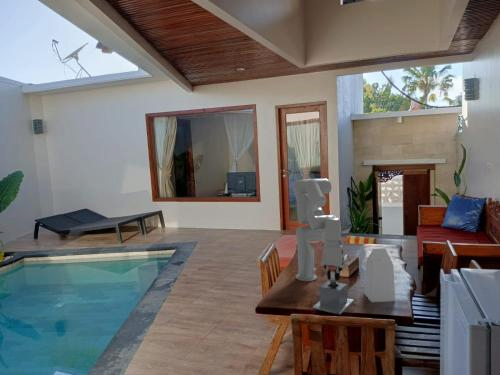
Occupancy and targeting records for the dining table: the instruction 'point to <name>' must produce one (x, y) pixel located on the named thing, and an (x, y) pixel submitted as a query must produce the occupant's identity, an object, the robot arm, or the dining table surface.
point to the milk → (379, 276)
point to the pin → (332, 275)
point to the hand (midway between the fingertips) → (333, 279)
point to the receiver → (333, 298)
